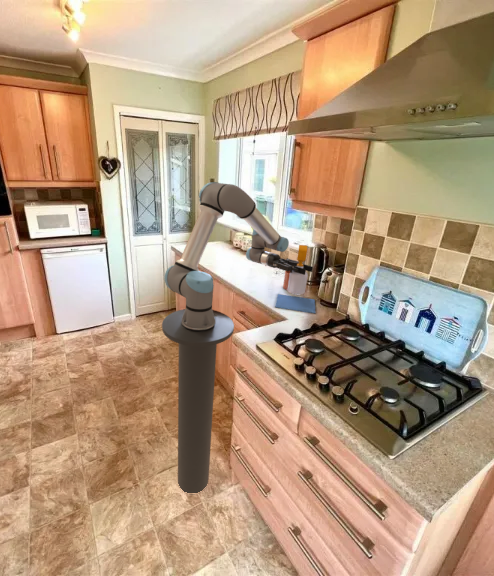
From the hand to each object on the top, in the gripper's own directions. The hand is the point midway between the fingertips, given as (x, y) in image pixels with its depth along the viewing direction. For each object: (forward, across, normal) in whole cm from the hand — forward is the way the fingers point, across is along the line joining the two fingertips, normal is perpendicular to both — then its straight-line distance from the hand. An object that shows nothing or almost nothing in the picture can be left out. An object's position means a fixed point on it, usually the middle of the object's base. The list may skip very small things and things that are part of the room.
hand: (308, 270), depth 152 cm
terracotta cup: (-18, -17, -20) cm, 32 cm away
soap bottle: (-5, 0, -13) cm, 14 cm away
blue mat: (-4, 0, -20) cm, 20 cm away
